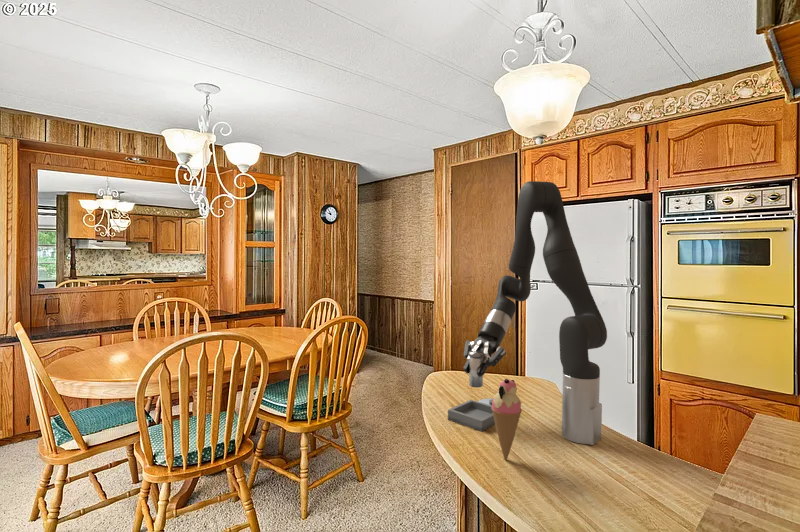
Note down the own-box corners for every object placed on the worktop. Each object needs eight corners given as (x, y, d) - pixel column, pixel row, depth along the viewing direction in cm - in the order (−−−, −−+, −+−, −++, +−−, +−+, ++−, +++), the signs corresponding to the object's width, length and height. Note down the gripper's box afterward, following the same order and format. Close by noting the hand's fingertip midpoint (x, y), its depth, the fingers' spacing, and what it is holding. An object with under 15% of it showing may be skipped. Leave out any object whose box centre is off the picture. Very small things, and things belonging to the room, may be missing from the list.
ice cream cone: (513, 470, 97) (514, 385, 97) (485, 461, 102) (485, 379, 101) (527, 457, 104) (528, 377, 103) (500, 448, 108) (500, 371, 107)
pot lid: (514, 408, 135) (515, 391, 135) (498, 417, 128) (498, 399, 128) (488, 400, 142) (488, 384, 142) (471, 408, 135) (471, 391, 135)
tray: (504, 419, 127) (504, 409, 127) (481, 431, 118) (481, 421, 118) (471, 408, 135) (471, 399, 135) (447, 419, 127) (447, 409, 127)
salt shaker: (486, 385, 127) (487, 352, 126) (478, 389, 123) (478, 355, 123) (473, 381, 130) (474, 349, 129) (465, 385, 126) (465, 352, 126)
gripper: (471, 317, 136) (447, 361, 128) (510, 323, 126) (488, 371, 118) (480, 331, 140) (458, 375, 132) (519, 338, 130) (497, 386, 122)
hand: (472, 373), depth 125 cm, fingers closed on salt shaker, 4 cm apart
